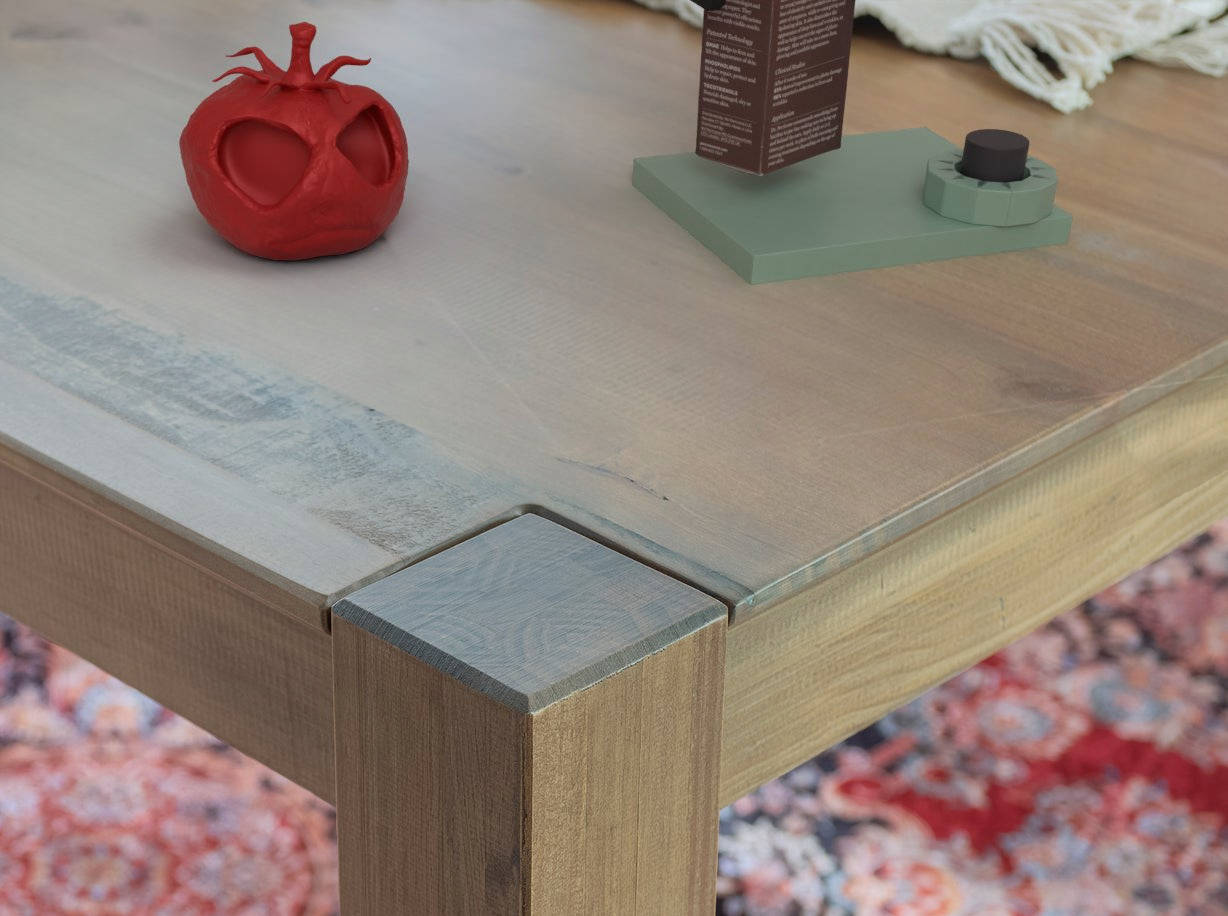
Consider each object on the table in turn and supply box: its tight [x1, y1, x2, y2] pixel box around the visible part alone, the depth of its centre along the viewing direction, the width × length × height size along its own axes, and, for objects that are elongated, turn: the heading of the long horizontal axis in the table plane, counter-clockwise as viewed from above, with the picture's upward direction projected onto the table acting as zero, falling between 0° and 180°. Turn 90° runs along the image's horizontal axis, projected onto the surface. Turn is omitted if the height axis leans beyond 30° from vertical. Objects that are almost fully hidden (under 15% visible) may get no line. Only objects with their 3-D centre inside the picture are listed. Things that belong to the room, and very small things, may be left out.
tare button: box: [960, 128, 1030, 183], centre depth 86 cm, size 3×3×2 cm
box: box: [694, 0, 856, 176], centre depth 85 cm, size 6×4×12 cm
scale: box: [631, 126, 1074, 286], centre depth 88 cm, size 16×13×3 cm
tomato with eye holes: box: [178, 21, 410, 261], centre depth 83 cm, size 10×10×9 cm
